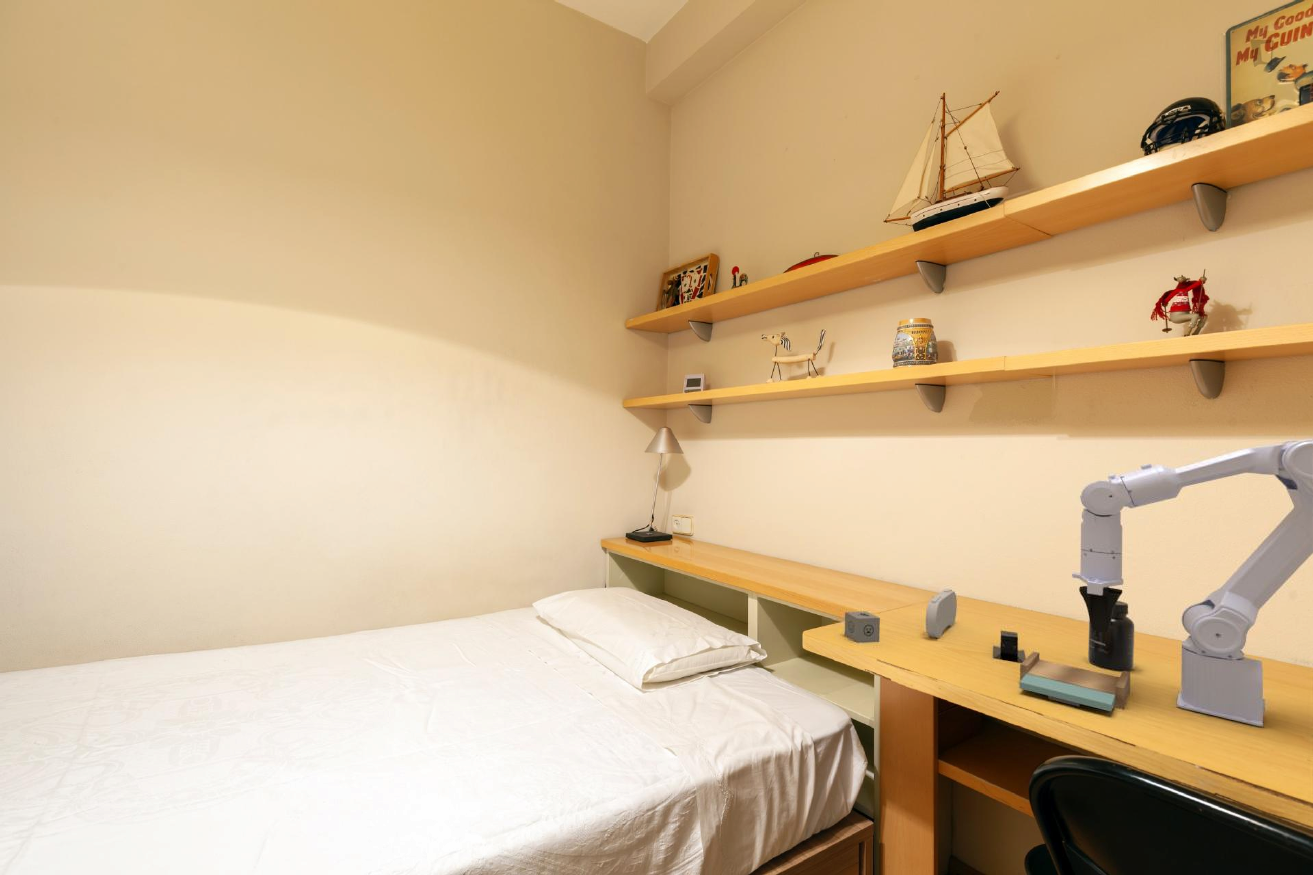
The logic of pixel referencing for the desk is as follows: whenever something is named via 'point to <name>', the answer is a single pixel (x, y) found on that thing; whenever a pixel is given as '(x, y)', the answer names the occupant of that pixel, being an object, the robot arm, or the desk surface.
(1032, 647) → the desk surface
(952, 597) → the game controller
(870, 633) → the dice cube
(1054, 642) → the desk surface
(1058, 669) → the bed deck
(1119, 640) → the supplement bottle
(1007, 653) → the black upright stand
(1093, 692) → the panel
